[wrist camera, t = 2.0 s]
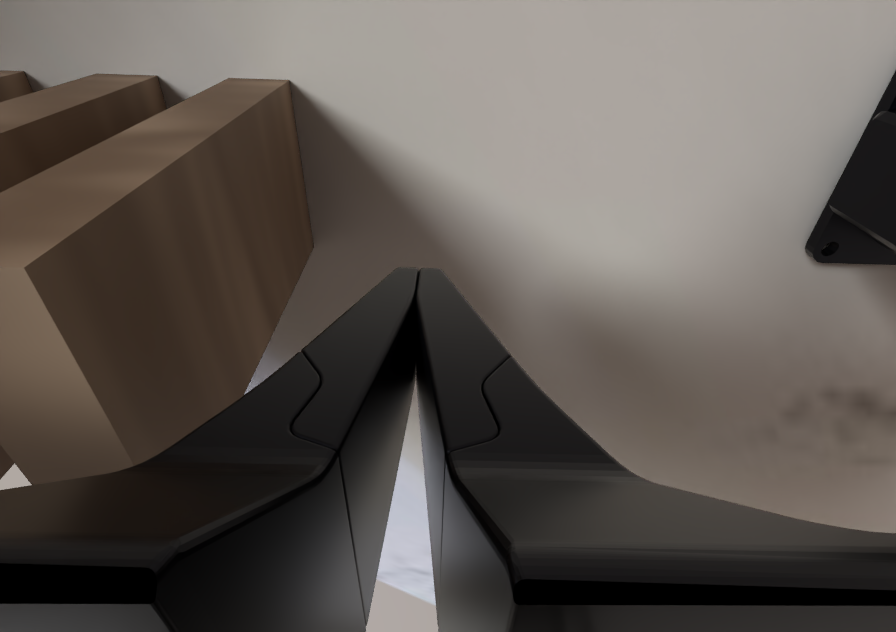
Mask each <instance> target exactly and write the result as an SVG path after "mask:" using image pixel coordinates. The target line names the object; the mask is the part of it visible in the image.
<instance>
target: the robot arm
mask: <svg viewBox="0 0 896 632" xmlns="http://www.w3.org/2000/svg"><path fill="white" fill-rule="evenodd" d="M829 242H830V244H829V245H828V246H827V247H826V248H824V249H822V248H823V247H824V246H825V245H826V244H828V243H829ZM805 250H806V253H807V254H808V255H809V256H811V257H812V258H813V259H814V260H816V261H817V262H821V263H848V264H886V265H896V71H895V73H894V75H893V77H892V79H891V81H890V83H889V85H888V87H887V89H886V91H885V93H884V94H883V96H882V98H881V100H880V102H879V104H878V106H877V108H876V110H875V112H874V114H873V116H872V118H871V120H870V121H869V123H868V125H867V127H866V129H865V131H864V133H863V135H862V137H861V139H860V141H859V143H858V145H857V147H856V149H855V150H854V152H853V154H852V156H851V158H850V160H849V162H848V164H847V166H846V168H845V170H844V172H843V174H842V176H841V177H840V179H839V181H838V183H837V185H836V187H835V189H834V191H833V193H832V195H831V197H830V199H829V201H828V203H827V204H826V206H825V208H824V210H823V212H822V214H821V216H820V218H819V220H818V222H817V224H816V226H815V228H814V230H813V232H812V233H811V235H810V237H809V239H808V241H807V243H806V247H805ZM415 377H416V381H417V396H418V407H419V418H420V430H421V441H422V452H423V463H424V475H425V486H426V497H427V509H428V520H429V531H430V542H431V554H432V565H433V576H434V588H435V599H436V610H437V620H438V627H439V629H438V632H896V533H879V532H868V531H861V530H854V529H847V528H841V527H835V526H829V525H824V524H818V523H814V522H809V521H804V520H799V519H795V518H791V517H787V516H783V515H779V514H775V513H771V512H767V511H763V510H759V509H755V508H751V507H747V506H743V505H739V504H735V503H731V502H727V501H723V500H719V499H715V498H711V497H707V496H703V495H699V494H695V493H691V492H687V491H683V490H680V489H676V488H672V487H668V486H664V485H660V484H656V483H653V482H650V481H648V480H646V479H643V478H641V477H639V476H637V475H636V474H634V473H632V472H631V471H629V470H628V469H626V468H625V467H624V466H622V465H621V464H620V463H619V462H617V461H616V460H615V459H614V458H613V457H612V456H610V455H609V454H608V453H607V452H606V451H605V450H604V449H603V448H602V447H601V446H600V445H599V444H598V443H597V442H595V441H594V440H593V439H592V438H591V437H590V436H589V435H588V434H587V433H586V432H585V431H584V430H583V429H582V428H581V427H579V426H578V425H577V424H576V423H575V422H574V421H573V420H572V419H571V418H570V417H569V416H568V415H567V414H566V413H565V412H563V411H562V410H561V409H560V408H559V407H558V406H557V405H556V404H555V403H554V402H553V401H552V400H551V399H550V398H549V397H548V396H547V395H546V394H545V393H544V392H543V391H542V390H541V389H540V388H539V387H538V386H537V385H536V384H535V382H534V381H533V380H532V379H531V378H530V377H529V376H528V374H527V373H526V372H525V371H524V370H523V369H522V368H521V366H520V365H519V364H518V363H517V361H516V360H515V359H514V358H513V357H512V356H511V354H510V353H509V352H508V351H507V349H506V348H505V347H504V346H503V344H502V343H501V342H500V341H499V339H498V338H497V337H496V336H495V335H494V333H493V332H492V331H491V330H490V328H489V327H488V326H487V325H486V324H485V322H484V321H483V320H482V319H481V317H480V316H479V315H478V314H477V312H476V311H475V310H474V309H473V308H472V306H471V305H470V304H469V303H468V301H467V300H466V299H465V298H464V297H463V295H462V294H461V293H460V292H459V290H458V289H457V288H456V287H455V285H454V284H453V283H452V282H451V281H450V279H449V278H448V277H447V276H446V274H445V273H444V272H443V271H442V270H441V269H438V268H422V269H420V271H419V270H418V269H417V268H401V267H400V268H397V269H395V270H394V271H393V272H392V273H391V274H389V275H388V276H387V277H386V278H385V279H384V280H382V281H381V282H380V283H379V284H378V285H377V286H375V287H374V288H373V289H372V290H371V291H370V292H368V293H367V294H366V295H365V296H364V297H363V298H361V299H360V300H359V301H358V302H357V303H356V304H354V305H353V306H352V307H351V308H350V309H349V310H347V311H346V312H345V313H344V314H343V315H342V316H340V317H339V318H338V319H337V320H336V321H335V322H334V323H332V324H331V325H330V326H329V327H328V328H327V329H325V330H324V331H323V332H322V333H321V334H320V335H318V336H317V337H316V338H315V339H314V340H313V341H311V342H310V343H309V344H308V345H307V346H306V347H304V348H303V349H302V350H301V352H298V353H297V354H296V355H295V356H294V357H292V358H291V359H290V360H289V361H288V362H287V363H285V364H284V365H283V366H282V367H281V368H279V369H278V370H277V371H276V372H274V373H273V374H272V375H271V376H269V377H268V378H267V379H266V380H264V381H263V382H262V383H260V384H259V385H258V386H256V387H255V388H253V389H252V390H251V391H249V392H248V393H247V394H245V395H244V396H242V397H241V398H240V399H238V400H237V401H235V402H234V403H233V404H231V405H230V406H228V407H227V408H225V409H224V410H222V411H221V412H220V413H218V414H217V415H215V416H214V417H212V418H211V419H209V420H208V421H207V422H205V423H204V424H202V425H201V426H199V427H198V428H196V429H195V430H193V431H192V432H191V433H189V434H188V435H186V436H185V437H183V438H182V439H180V440H179V441H178V442H176V443H175V444H173V445H172V446H170V447H169V448H167V449H166V450H164V451H162V452H161V453H159V454H158V455H156V456H154V457H152V458H150V459H148V460H146V461H144V462H142V463H140V464H137V465H135V466H132V467H129V468H126V469H123V470H119V471H116V472H112V473H107V474H100V475H94V476H88V477H81V478H75V479H69V480H62V481H56V482H50V483H43V484H37V485H31V486H24V487H18V488H12V489H5V490H0V632H366V625H367V622H368V617H369V612H370V606H371V602H372V597H373V592H374V587H375V582H376V577H377V572H378V567H379V562H380V557H381V552H382V546H383V541H384V536H385V531H386V526H387V521H388V516H389V511H390V506H391V501H392V496H393V491H394V486H395V481H396V476H397V471H398V466H399V461H400V456H401V451H402V446H403V441H404V436H405V430H406V425H407V420H408V415H409V410H410V405H411V400H412V395H413V390H414V384H415Z"/></svg>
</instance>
